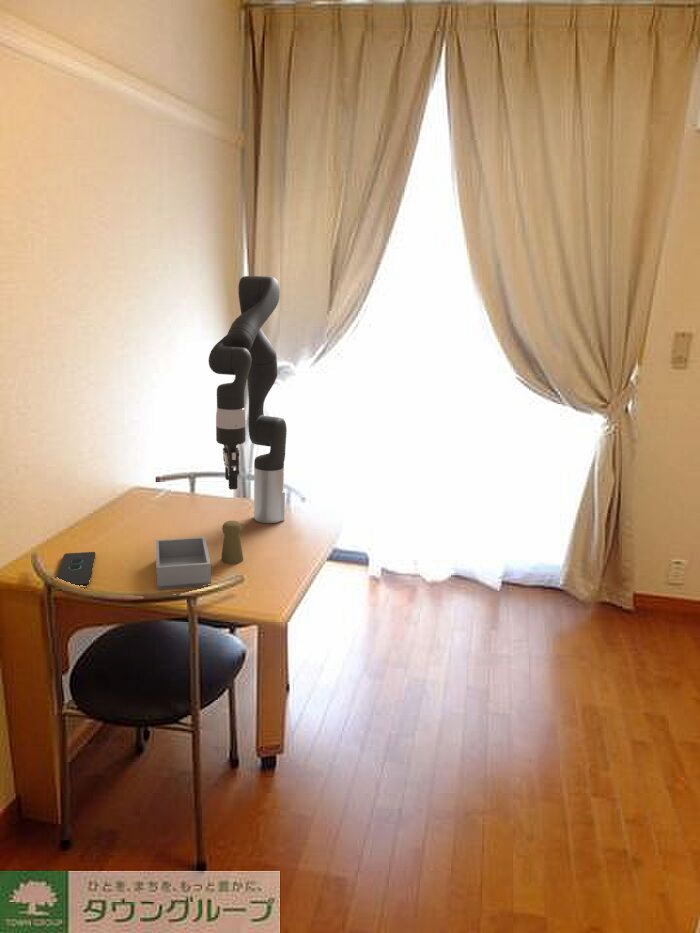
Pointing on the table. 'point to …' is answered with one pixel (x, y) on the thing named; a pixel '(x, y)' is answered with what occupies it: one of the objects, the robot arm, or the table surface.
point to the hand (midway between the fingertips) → (231, 484)
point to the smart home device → (76, 568)
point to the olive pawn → (232, 543)
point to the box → (182, 563)
